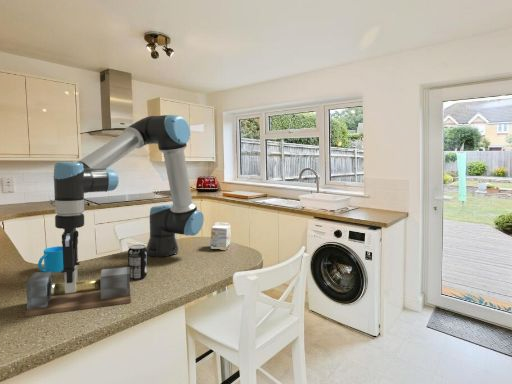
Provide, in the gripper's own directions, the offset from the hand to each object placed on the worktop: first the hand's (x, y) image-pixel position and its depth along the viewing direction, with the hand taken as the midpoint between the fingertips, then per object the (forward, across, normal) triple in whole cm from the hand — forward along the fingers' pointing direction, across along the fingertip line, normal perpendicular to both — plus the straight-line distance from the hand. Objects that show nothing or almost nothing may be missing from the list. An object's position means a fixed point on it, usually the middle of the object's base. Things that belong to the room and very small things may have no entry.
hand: (71, 289), depth 96 cm
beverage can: (+4, -16, +20) cm, 26 cm away
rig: (+4, 0, +4) cm, 6 cm away
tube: (+1, 0, +3) cm, 3 cm away
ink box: (+4, -47, +62) cm, 77 cm away
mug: (+4, -34, -11) cm, 36 cm away
